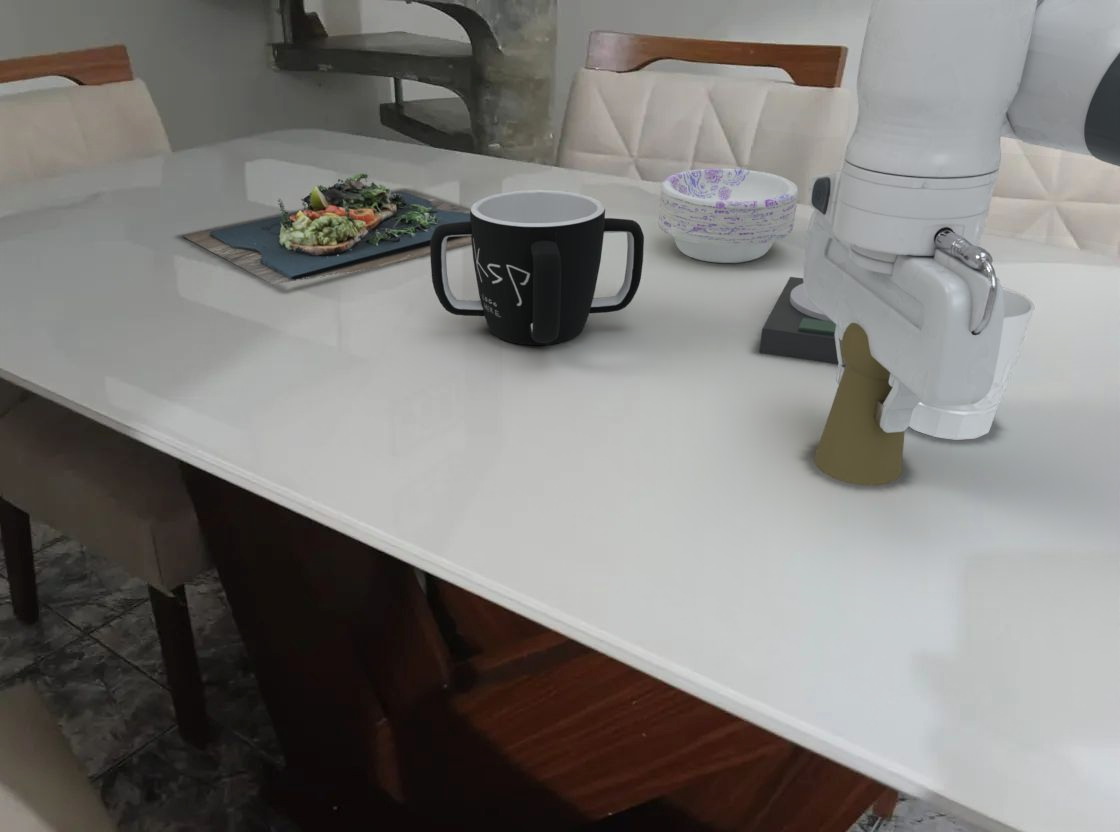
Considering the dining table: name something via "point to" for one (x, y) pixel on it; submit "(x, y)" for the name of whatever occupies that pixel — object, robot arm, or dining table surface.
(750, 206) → the paper bowls
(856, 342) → the olive pawn figure
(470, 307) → the mug
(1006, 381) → the white cup
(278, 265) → the plated dish
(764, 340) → the kitchen scale
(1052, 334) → the dining table surface
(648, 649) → the dining table surface
